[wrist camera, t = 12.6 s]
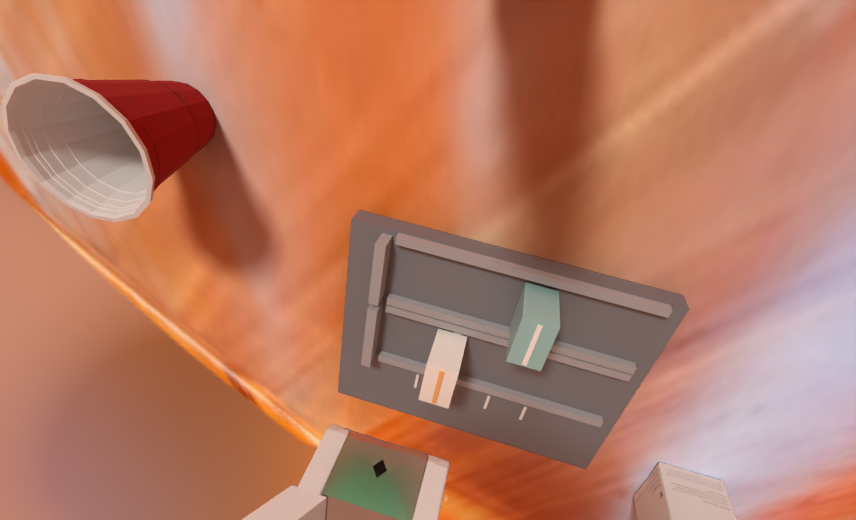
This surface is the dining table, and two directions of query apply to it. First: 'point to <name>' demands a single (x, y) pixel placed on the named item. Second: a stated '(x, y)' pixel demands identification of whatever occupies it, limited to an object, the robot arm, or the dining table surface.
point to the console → (496, 337)
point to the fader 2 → (533, 326)
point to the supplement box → (682, 496)
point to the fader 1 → (442, 368)
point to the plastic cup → (104, 138)
